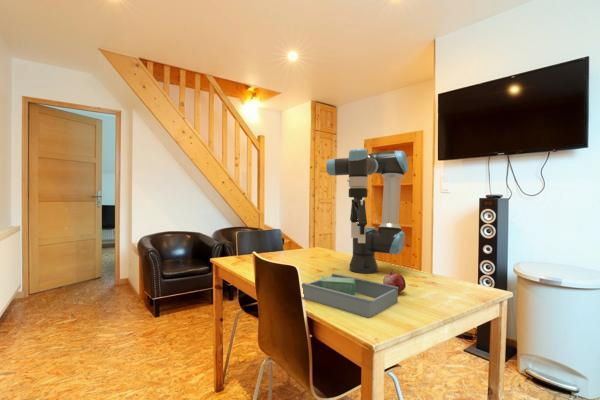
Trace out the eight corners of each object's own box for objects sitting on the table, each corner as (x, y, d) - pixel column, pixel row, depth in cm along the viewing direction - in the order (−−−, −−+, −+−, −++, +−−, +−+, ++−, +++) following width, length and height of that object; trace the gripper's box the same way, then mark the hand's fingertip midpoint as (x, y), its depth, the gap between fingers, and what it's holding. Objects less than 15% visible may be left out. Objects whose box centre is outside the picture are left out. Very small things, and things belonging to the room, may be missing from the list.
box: (354, 301, 119) (354, 282, 119) (319, 299, 122) (319, 280, 122) (355, 295, 126) (355, 277, 126) (322, 293, 129) (322, 275, 129)
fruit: (407, 291, 132) (407, 268, 132) (403, 298, 124) (403, 272, 123) (385, 288, 136) (385, 265, 136) (380, 294, 128) (380, 270, 128)
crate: (333, 286, 139) (333, 273, 139) (398, 302, 119) (398, 287, 119) (301, 297, 123) (301, 283, 123) (369, 318, 103) (369, 301, 103)
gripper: (343, 188, 138) (343, 236, 139) (355, 187, 113) (354, 245, 114) (360, 188, 138) (360, 236, 139) (375, 187, 114) (375, 245, 114)
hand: (357, 240), depth 126 cm, fingers open, 13 cm apart
